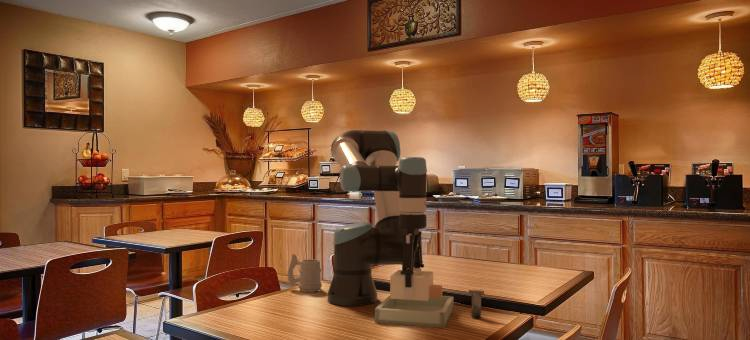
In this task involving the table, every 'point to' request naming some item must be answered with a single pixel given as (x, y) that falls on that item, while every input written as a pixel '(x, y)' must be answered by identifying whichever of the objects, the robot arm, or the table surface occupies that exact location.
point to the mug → (306, 274)
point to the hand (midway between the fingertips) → (412, 295)
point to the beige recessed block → (415, 286)
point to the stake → (476, 303)
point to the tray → (415, 311)
